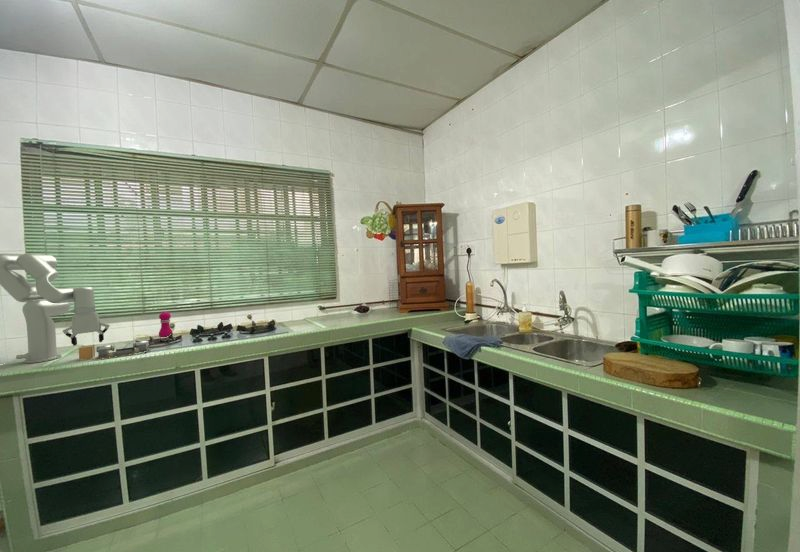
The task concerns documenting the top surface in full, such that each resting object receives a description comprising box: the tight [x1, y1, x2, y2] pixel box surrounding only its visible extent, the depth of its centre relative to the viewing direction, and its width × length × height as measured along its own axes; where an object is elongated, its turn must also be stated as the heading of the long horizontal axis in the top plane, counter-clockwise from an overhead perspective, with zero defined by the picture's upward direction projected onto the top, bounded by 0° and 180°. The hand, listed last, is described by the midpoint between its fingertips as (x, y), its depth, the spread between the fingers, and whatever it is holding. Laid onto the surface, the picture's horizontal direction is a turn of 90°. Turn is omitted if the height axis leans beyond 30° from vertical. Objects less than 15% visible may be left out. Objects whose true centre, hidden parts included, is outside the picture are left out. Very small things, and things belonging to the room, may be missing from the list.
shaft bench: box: [95, 340, 150, 360], centre depth 164 cm, size 21×10×6 cm, turn 124°
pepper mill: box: [158, 309, 174, 338], centre depth 195 cm, size 7×7×20 cm
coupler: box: [78, 344, 96, 361], centre depth 158 cm, size 6×5×6 cm
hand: (88, 343), depth 158 cm, fingers open, 9 cm apart
